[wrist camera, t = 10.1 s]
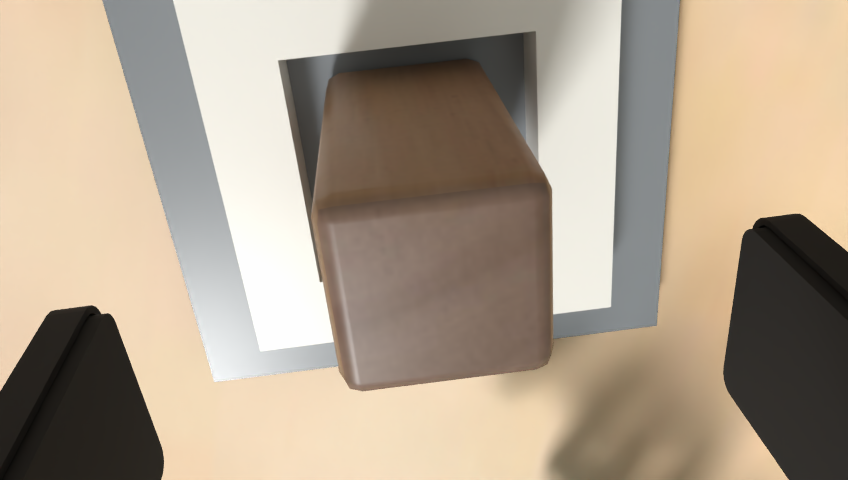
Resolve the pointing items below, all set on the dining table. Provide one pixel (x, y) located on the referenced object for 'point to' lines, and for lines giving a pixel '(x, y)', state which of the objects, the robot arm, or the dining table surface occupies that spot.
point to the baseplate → (301, 130)
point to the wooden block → (430, 228)
